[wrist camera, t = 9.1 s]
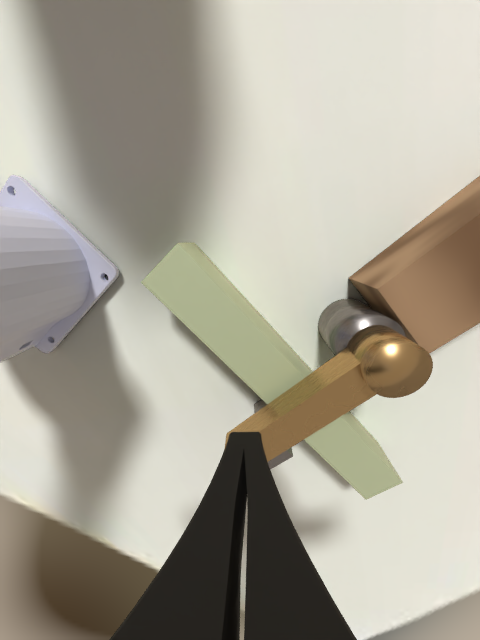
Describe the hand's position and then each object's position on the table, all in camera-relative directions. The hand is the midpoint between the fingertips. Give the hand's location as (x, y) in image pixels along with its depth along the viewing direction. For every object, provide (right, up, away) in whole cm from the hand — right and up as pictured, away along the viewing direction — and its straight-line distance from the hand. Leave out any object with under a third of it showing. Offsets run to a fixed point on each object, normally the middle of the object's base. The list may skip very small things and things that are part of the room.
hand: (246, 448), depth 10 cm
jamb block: (+12, +10, +4) cm, 16 cm away
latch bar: (+4, +1, +3) cm, 5 cm away
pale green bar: (+3, +2, +7) cm, 8 cm away
